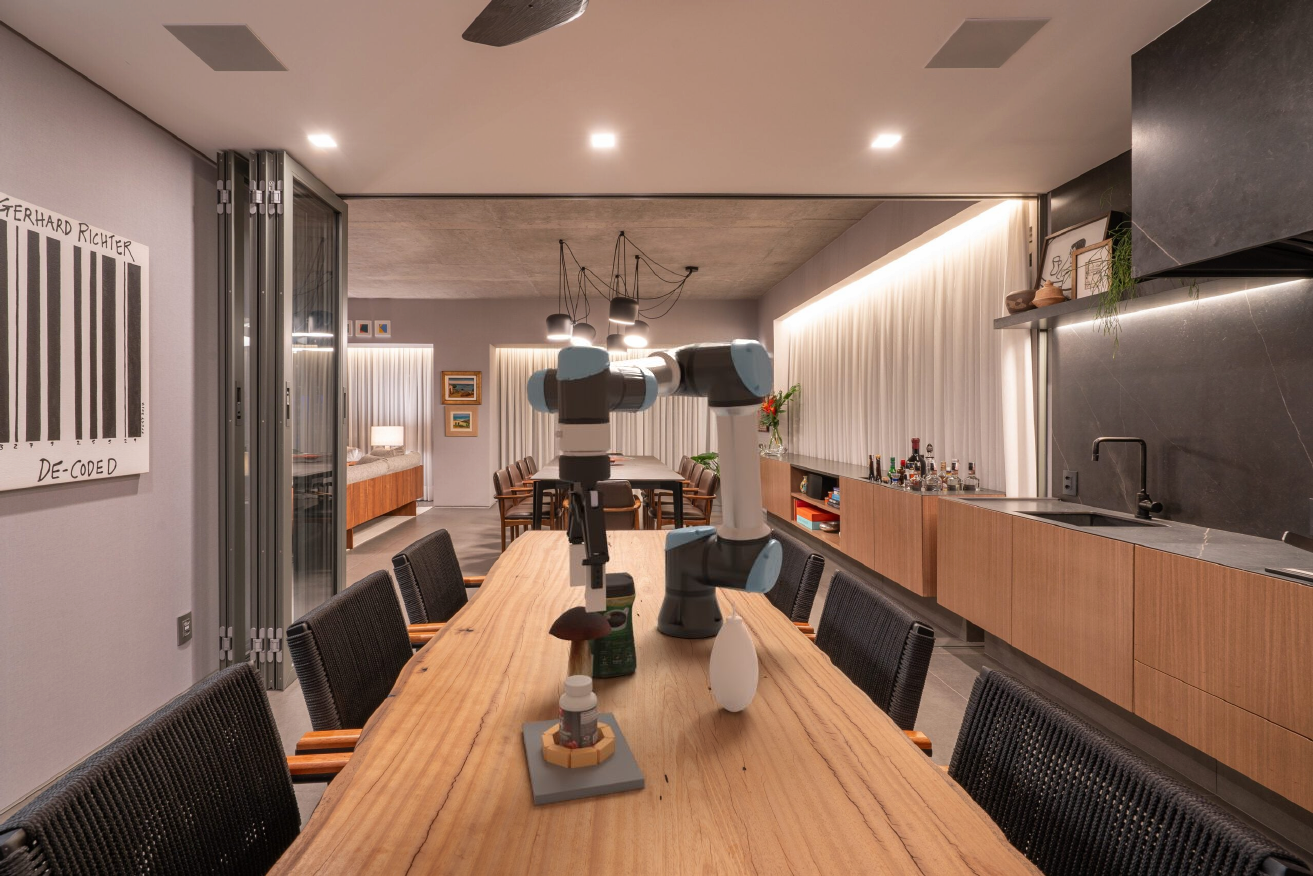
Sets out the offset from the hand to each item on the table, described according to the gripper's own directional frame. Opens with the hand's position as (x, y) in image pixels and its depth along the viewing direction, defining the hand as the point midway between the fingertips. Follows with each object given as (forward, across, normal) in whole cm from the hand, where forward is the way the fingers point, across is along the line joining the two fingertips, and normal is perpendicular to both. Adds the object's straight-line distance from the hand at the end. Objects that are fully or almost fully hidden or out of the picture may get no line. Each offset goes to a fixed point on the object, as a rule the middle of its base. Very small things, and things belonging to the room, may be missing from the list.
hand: (586, 597), depth 95 cm
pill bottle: (+20, +4, -2) cm, 21 cm away
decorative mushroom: (+22, -18, +2) cm, 28 cm away
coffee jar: (+22, -26, +9) cm, 35 cm away
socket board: (+21, +4, -2) cm, 22 cm away
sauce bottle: (+22, -3, +25) cm, 33 cm away
